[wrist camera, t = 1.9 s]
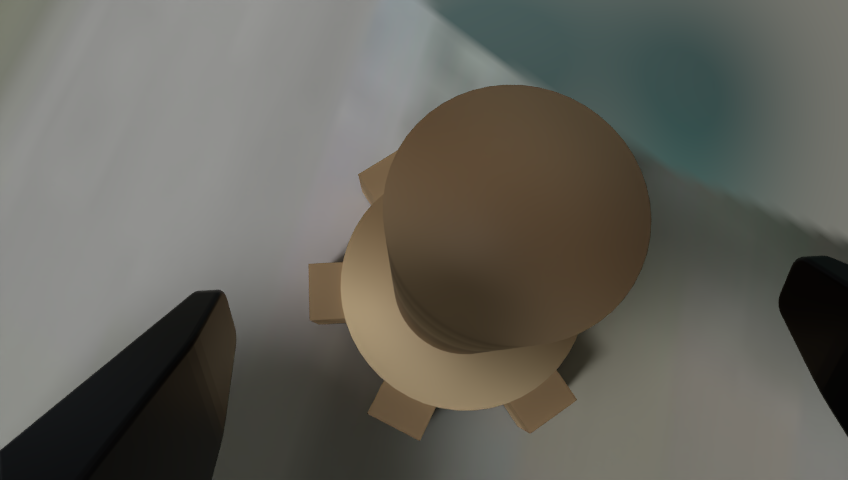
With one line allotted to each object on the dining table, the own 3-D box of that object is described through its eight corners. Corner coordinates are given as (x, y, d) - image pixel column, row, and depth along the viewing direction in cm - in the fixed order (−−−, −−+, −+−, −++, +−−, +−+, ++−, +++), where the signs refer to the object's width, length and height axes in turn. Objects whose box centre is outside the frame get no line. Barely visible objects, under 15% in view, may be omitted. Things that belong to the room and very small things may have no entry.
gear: (520, 485, 17) (673, 649, 7) (273, 356, 18) (109, 349, 8) (630, 229, 19) (872, 86, 9) (402, 119, 19) (399, -126, 10)
